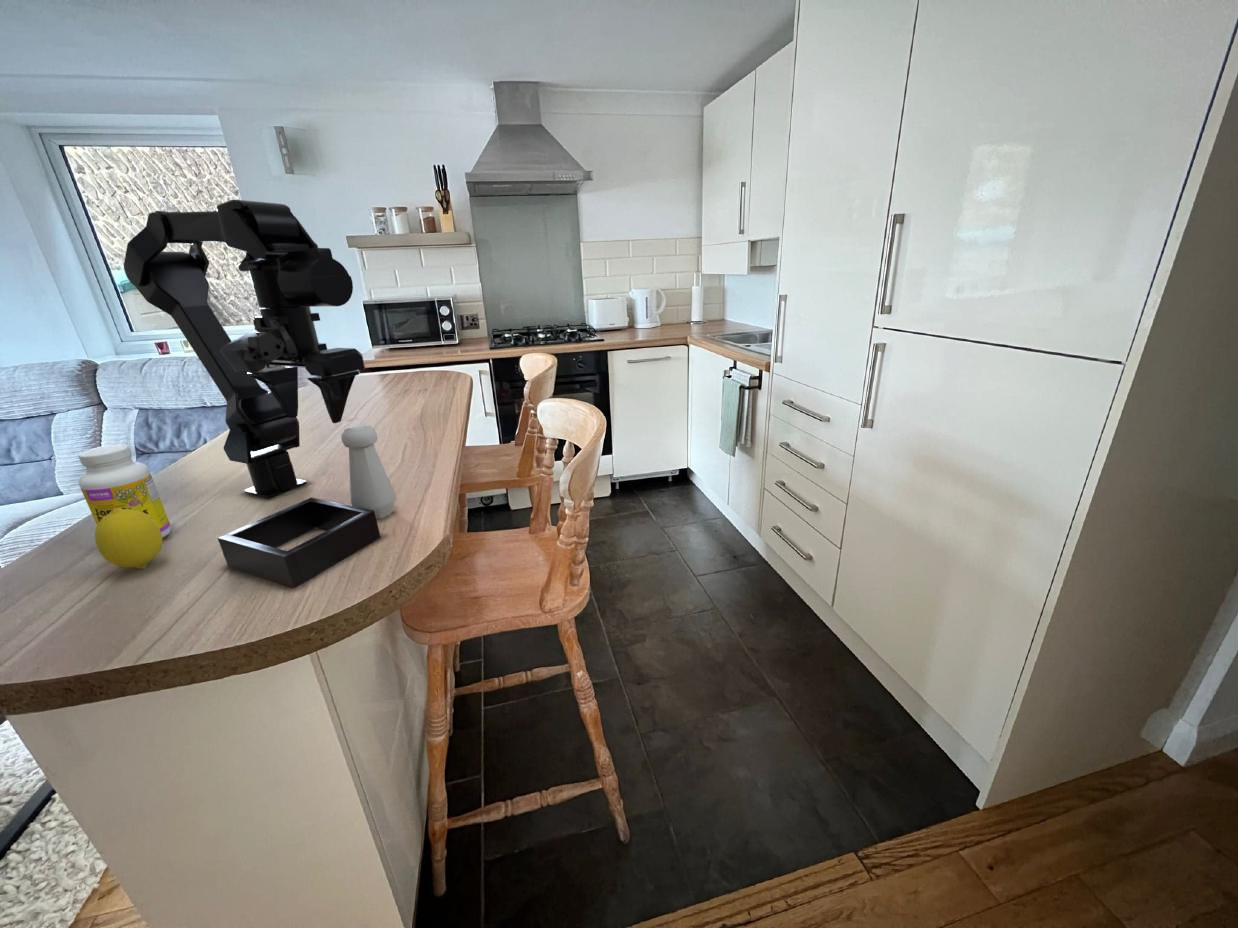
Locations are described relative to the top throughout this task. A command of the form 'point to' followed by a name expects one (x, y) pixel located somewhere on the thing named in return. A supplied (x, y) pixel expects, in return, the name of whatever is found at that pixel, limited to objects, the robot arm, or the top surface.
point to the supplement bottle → (120, 485)
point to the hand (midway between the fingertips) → (314, 419)
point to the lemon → (128, 538)
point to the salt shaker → (367, 472)
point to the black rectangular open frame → (297, 565)
